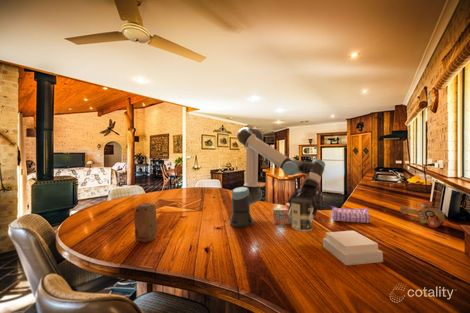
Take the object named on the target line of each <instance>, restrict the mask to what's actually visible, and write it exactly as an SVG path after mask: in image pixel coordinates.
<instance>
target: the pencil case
mask: <svg viewBox="0 0 470 313" xmlns="http://www.w3.org/2000/svg"><path fill="white" fill-rule="evenodd" d="M330 207H331V219H332V221H334V222H346V223H360V224H361V223H362V224H363V223H364V224H369V223H370V219H371V218H370V213H369V211H368V210H369V208H368V207H366V208H365V207H362V208H338V207H336V206H330Z"/></svg>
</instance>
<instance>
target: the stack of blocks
mask: <svg viewBox="0 0 470 313" xmlns="http://www.w3.org/2000/svg"><path fill="white" fill-rule="evenodd" d="M289 206H290V204H289V202H286V203H285V207H272V218H273V220H272V221H273V224H274V225H292V216H291V217H289V215H288V212H289Z"/></svg>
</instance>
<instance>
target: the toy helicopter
mask: <svg viewBox="0 0 470 313" xmlns="http://www.w3.org/2000/svg"><path fill="white" fill-rule="evenodd" d="M431 204H432V202H430V203H427V202H425V201H423V202H421V205H420V204H418V205H417V207H420V206H421V208H420V209H416V208H409V207H408V206H405V205H403V206H400V207H399V211H400V213H402V214H404V215H406V214H410V215H415V216H417V217H418V218H419V221H420V223H422V224H427V225H428V226H429V227H431V228H437V227H439V226H443V225H445V223H446V222H445V213H444V212H443V211H442V210H441V209H438V208H436V207H432V206H430V205H431Z"/></svg>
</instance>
